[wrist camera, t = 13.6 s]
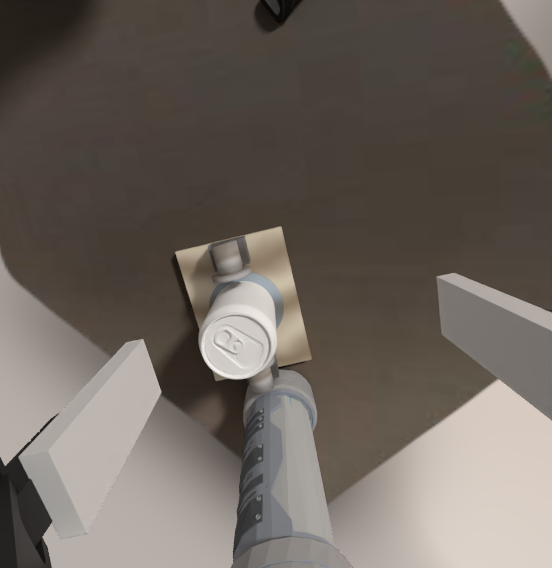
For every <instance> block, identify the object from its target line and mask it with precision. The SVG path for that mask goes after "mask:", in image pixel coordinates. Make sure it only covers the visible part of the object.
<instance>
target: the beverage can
mask: <svg viewBox="0 0 552 568" xmlns="http://www.w3.org/2000/svg"><path fill="white" fill-rule="evenodd" d="M276 347H277V330H276V317H275V306H274V302H273V299H272V297H271V295H270V294H269V293H268V292H267V290H266V289H264V288H263V287H262V286H260V285H258V284H256V283H253V282H249V281H238V282H234V283H231V284H229V285H228V286H226V287H225V288H223V289H222V290H221V291H220V293H219V294H218V295H217V297H216V299H215V301H214V303H213V305H212V307H211V309H210V310H209V312H208V314H207V316H206V318H205V320H204V322H203V324H202V326H201V328H200V332H199V348H200V351H201V354H202V356H203V359H204V361H205V362H206V364H207V365H208V366H209V368H210V369H211V370H213V371H214V372H215V373H217V374H218V375H220V376H222V377H225V378H229V379H246V378H249V377H252V376H254V375H256V374H258V373H259V372H260V371H262V370H263V369H264V368H265V367H266V366H267V365H268V364H269V362H270V361H271V360H272V358H273V356H274V354H275V351H276Z"/></svg>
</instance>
